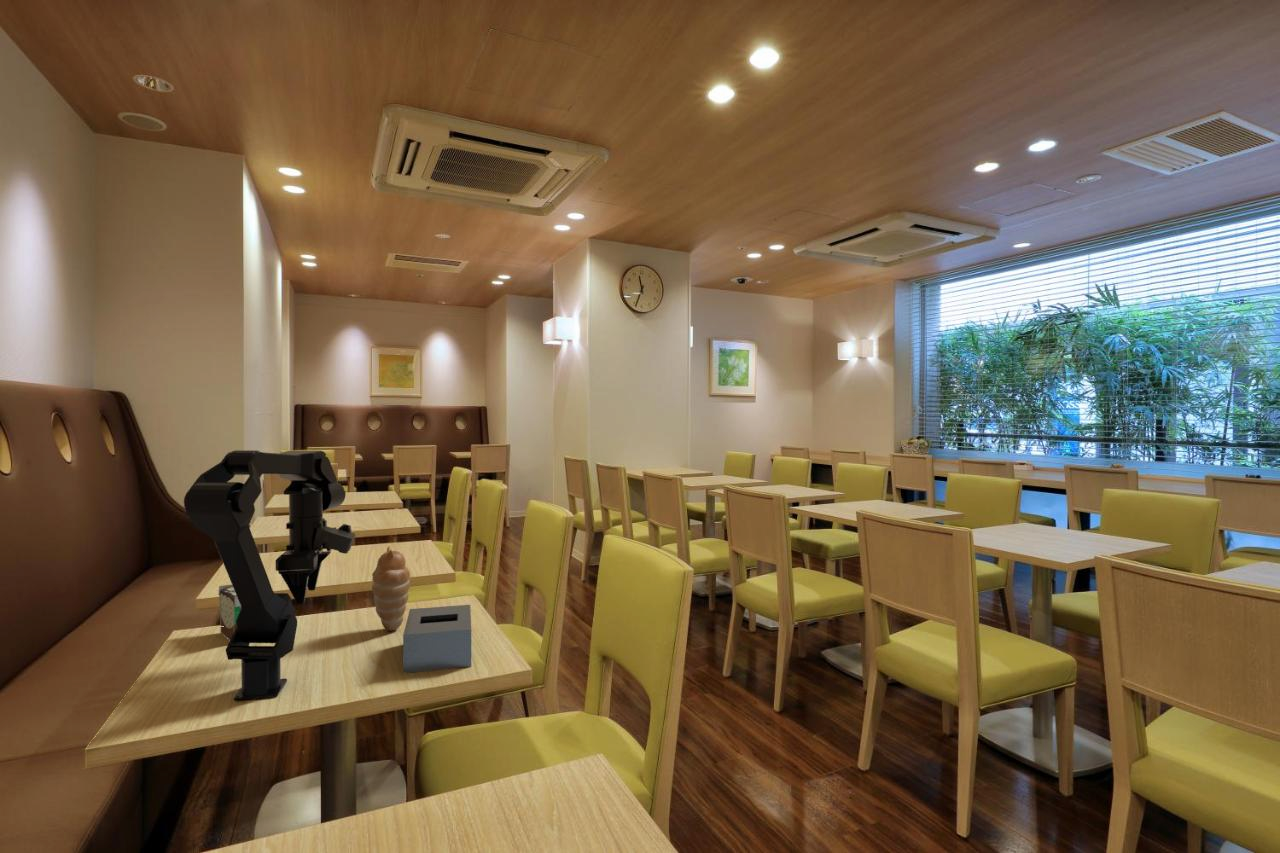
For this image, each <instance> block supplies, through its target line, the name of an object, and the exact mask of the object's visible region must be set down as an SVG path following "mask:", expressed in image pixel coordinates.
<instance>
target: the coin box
mask: <svg viewBox="0 0 1280 853" xmlns="http://www.w3.org/2000/svg"><path fill="white" fill-rule="evenodd" d="M471 611H472V610H471V604H463V605H459V604H458V605H448V606H447V605H446V606H434V607H419V608H409V611H408V616H407V620H406V623H405V627H404V632H403V635H402V636H403V638H402V646H403V647H402V650H403V652H402V661H403V663H402V666H403V667H402V670H403V671H402V673H403V674H407V673H416V672H417V673H418V672H428V671H438V670H448V669H450V670H451V669H458V668H468V667H472V616H471V614H472V613H471Z"/></svg>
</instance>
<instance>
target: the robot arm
mask: <svg viewBox="0 0 1280 853" xmlns="http://www.w3.org/2000/svg"><path fill="white" fill-rule="evenodd" d="M326 455H327V453H326V452H325V451H323V450H292V449H291V450H287V451H281V453H277V452H276V453H274V452H262V451H260V450H254V449H253V450H252V449H250V450H249V449H247V450H243V449H242V450H240V449H239V450H237V449H236V450H235V449H234V450H232V451H230V452H229V451H228V453H226V454H225V456H224V457H223V459H222V460H221V461H220V462H218V463H217V464H216V465H214V466H212V467H211V468H209V469H207V470H206V471H204V472H202V473H201V474H200V475H199V476H198V477H197V479H196V480H195V481H194V483H193V484H192V485H191V487H190V488H189V489H188V491H187V492H186V493H185V495H184V497H183V507H184V510H185V514H187V517H188V518H189V519H190V521H191V523H192V524H193V525H194V527H195V529H196V530H197V529H198V530H199V531H200V532H202V533H204V534H205V535H206V536H208V537H209V538H210V539H211V540H213V542H214V543H215V546H216V549H217V551H218V554H219V557H220V559H221V561H222V563H223V566H224V569H225V571H226V573H227V575H228V578H229V580H230V583H231V585H233V588H234V590H235V593H236V595H237V598H238V600H239V602H240V605H241V609H240V611H239V614H238V616H237V618H236V626H237V627H236V629H235V631H234V633H233V635H232V637H231V639H230V641H229V642H228V644H227V645H226V648H225V654H226V658H227V660H229V661H231V660H241V661H240V663H241V670H240V671H241V673H240V674H241V688H240V689H239V690H238V692H237V693H235V695H234V696H233V700H234V701H243V700H245V701H246V700H253V699H254V700H257V699H262V698H264V699H265V698H273V697H277V696H279V694H280V693H281V691H282V690H283V688H284V687H285V686H286V684H287V682H288V678H281V676H282V674H281V671H282V670H281V659H282V658H284V657H285V656H287V655H288V654H290V653H291V652H292V651H293V650H294V645H295V639H296V633H297V628H298V618H297V617H296V614H295V612H296V610H297V609H296V608H295V607H294V605H293V602H292V598H291V595H292V596H293V599H294V600H295V602H296V604H298V605H299V604H300V605H301V604H304V603H305V600H306V596H307V595H306V594H307V589H308V591H311V592H312V591H315V590H316V588H317V584H318V581H319V580H318V579H319V574H320V572H321V566H322V563H323V561H324V560H325V559H326V558H327V557H328V556H329V555H330V554H331V552H332V550H334V551H336V552H338V553H341V554H345V555H346V554H348V553H349V551H350V550H351V548H352V545H353V542H354V540H355V538H356V533H355V532H353V531H352V526H351V525H349V524H346V523H343V524H342V525H341V526H339V528H337V527H331V526H328V524H327V523H328V521H327V519H326V518H324V517H323V513H324V511H327V510H331V509H335V508H337V507H339V506H341V505H342V504H343V503H344V502H345V499H346V494H347V493H346V490H345V488H344V486H343V485H342V484H341V483H340V482H338V479H337V476H336V473H335V471H334V469H333V466H332V463H331V461H330V459H329V457H327V456H326ZM262 475H278V476H279V477H280V479H284V480H288V481H291V482H290V484H289V485H288V486H287V487H285V488H284V491H283V495H287V496H288V522H286V524H285V525H286V526H285V527H286V528H285V529H286V530H289V532H288V538H289V539H288V540H289V541H288V543H287V545H286V546H285V547H286V550H285V551H284V552H283V553H282V554H280V555H279V556H278V557H277V558H276V559H275V571H276V572H278V574H279V575H280V576H281V578H282V579H283V581H284V583H285V584H286V586H287V588H288V589H289V591H290V594H291V595H289V593H286V592H282V593H281V592H276V593H275V592H274V590H273V587H272V585H271V584H272V583H271V582H270V579H269V576H268V574H267V571H266V569H265V566H264V564H263V561H262V558H261V554H260V553H259V550H258V547H257V544H256V541H255V539H254V537H253V534H252V530H251V528H250V525H251V521H252V519H253V516H254V514H255V512H256V508H255V502H256V501H257V499H258V498H259V497H260V494H262V490H263V489H262V484H261V478H262ZM235 476H248V477H247V479H246V481H245V482H244V483H243V482H239V481H236V482H235V481H233V482H232V481H231V480H232V479H233V478H235ZM325 549H326V551H324V550H325ZM250 644H274V645H250Z"/></svg>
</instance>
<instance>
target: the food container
mask: <svg viewBox="0 0 1280 853" xmlns="http://www.w3.org/2000/svg"><path fill="white" fill-rule="evenodd" d="M218 596H219V599H218V600H219V621H220V625H219V626H224V627H220V634H221V633H222V634H223V635H224V636H225V637H224V636H223V635H222V634H221V635H222V636H223V637H224V638H226V639H227V638H228V639H227V640H228V641H229V640H230V639H231V637H232V635H233V633H234V631H235V629H236V627H237V626H236V618H237V616H238V614H239V611H240V609H241V605H240V602H239V600H238V598H237V595H236V593H235V590H234V588H233V585H232V584H225V585H219V586H218Z"/></svg>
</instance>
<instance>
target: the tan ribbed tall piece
mask: <svg viewBox="0 0 1280 853" xmlns="http://www.w3.org/2000/svg"><path fill="white" fill-rule="evenodd" d="M376 562H377V564H376V567H375V569H374V571H373V572H372V575H371V576H372V582H373V584H372V586H371V592H372V593H373V604H374V606H375V612H376V614H377V616H378V617H379V618H380V621H381V624H382V627H383V629H385V630H386V631H390V632H391V631H396V630H397V629H399V628H400V627H401V626H402V624H403V621H404V614H405V611H406V609H407V602H408V600H409V590H410V588H411V582H410V577H411V572H410V569H408V567H407V566H406V559H405V557H404V555H403V553H401V552H400V551H397V550H392V548H391V547H390V545H388V546H387V548H386V552H384V553H383V554H381V555H380V557H379V558H378V561H376Z"/></svg>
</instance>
